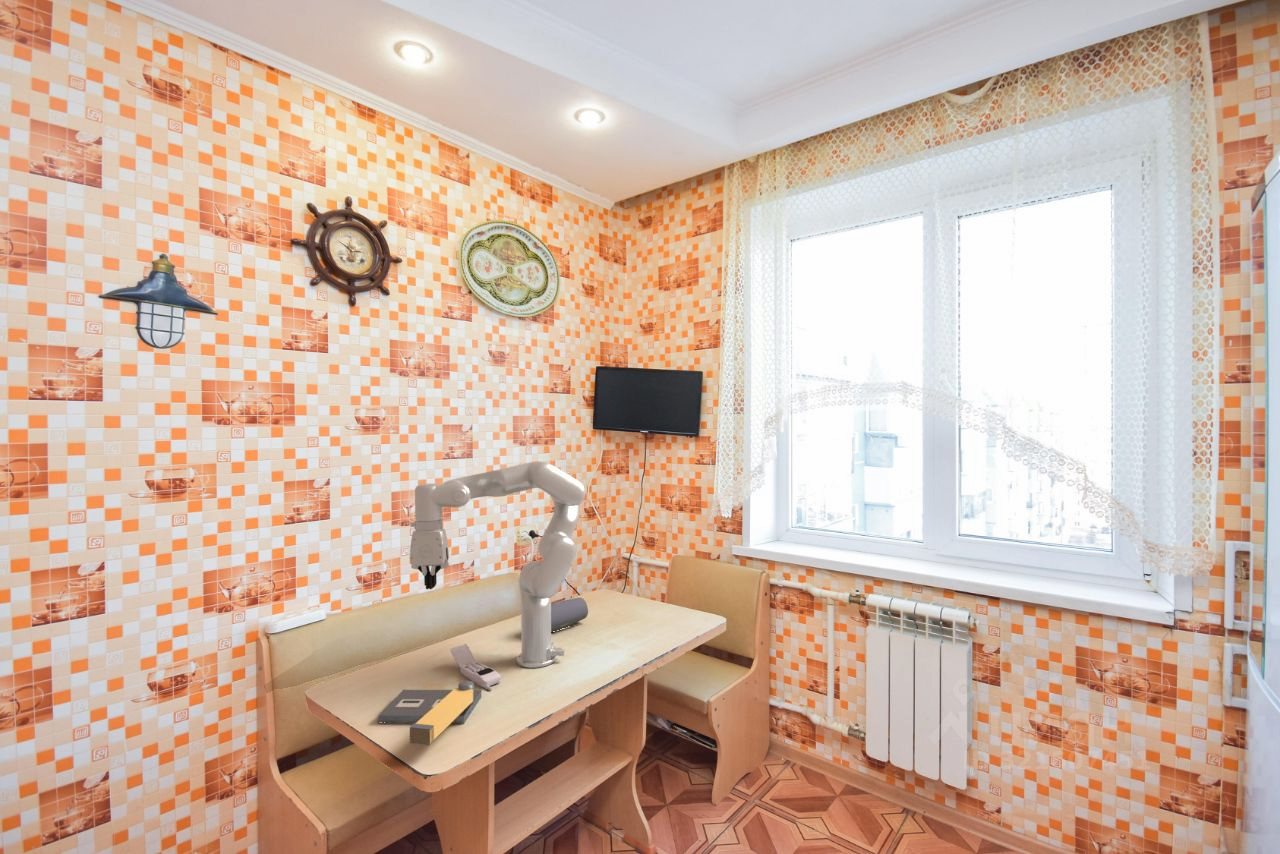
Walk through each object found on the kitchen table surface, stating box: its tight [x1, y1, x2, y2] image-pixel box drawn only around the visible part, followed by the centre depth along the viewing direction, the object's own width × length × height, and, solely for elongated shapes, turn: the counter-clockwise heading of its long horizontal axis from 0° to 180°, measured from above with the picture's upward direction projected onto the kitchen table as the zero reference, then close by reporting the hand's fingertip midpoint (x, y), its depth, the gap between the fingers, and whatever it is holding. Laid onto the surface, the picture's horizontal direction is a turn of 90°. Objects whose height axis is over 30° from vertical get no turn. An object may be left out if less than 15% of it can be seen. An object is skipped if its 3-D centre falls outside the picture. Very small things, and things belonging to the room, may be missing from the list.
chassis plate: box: [377, 689, 482, 725], centre depth 145 cm, size 22×14×2 cm, turn 88°
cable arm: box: [409, 680, 475, 746], centre depth 135 cm, size 23×5×5 cm, turn 169°
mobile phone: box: [449, 643, 502, 691], centre depth 166 cm, size 6×6×25 cm
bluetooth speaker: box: [551, 597, 589, 632], centre depth 205 cm, size 23×9×10 cm, turn 136°
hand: (430, 587), depth 161 cm, fingers closed
